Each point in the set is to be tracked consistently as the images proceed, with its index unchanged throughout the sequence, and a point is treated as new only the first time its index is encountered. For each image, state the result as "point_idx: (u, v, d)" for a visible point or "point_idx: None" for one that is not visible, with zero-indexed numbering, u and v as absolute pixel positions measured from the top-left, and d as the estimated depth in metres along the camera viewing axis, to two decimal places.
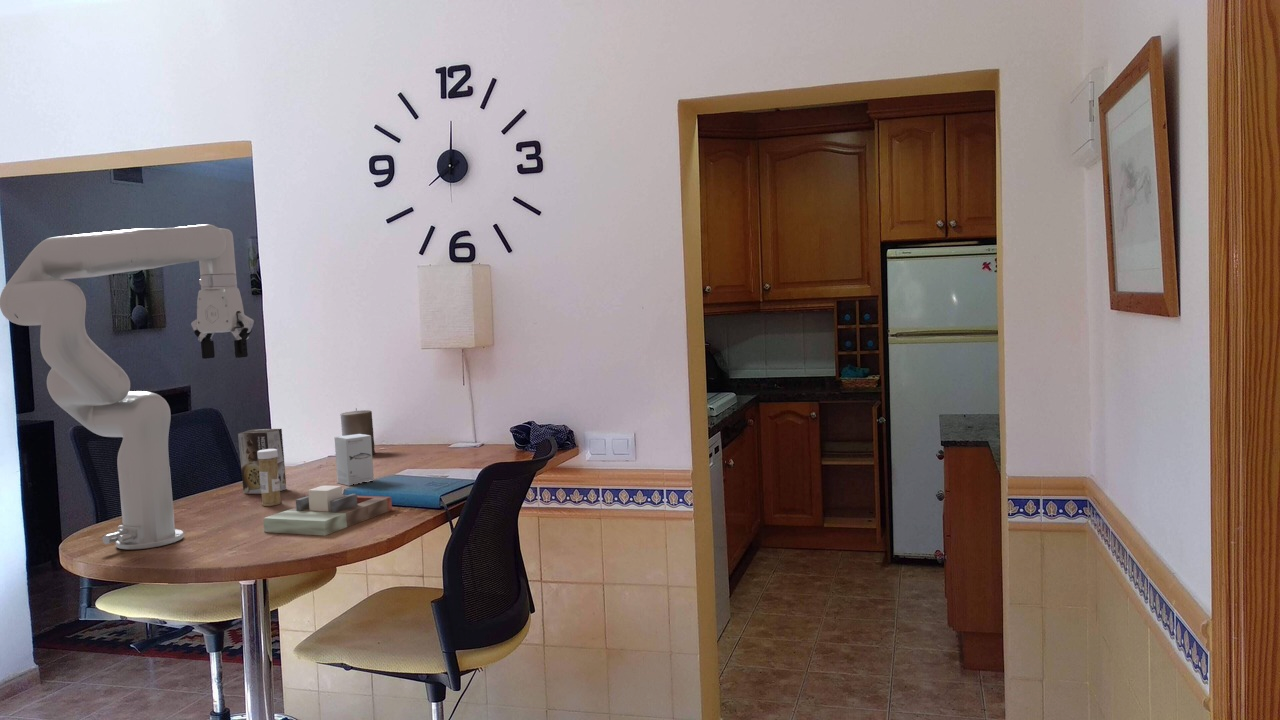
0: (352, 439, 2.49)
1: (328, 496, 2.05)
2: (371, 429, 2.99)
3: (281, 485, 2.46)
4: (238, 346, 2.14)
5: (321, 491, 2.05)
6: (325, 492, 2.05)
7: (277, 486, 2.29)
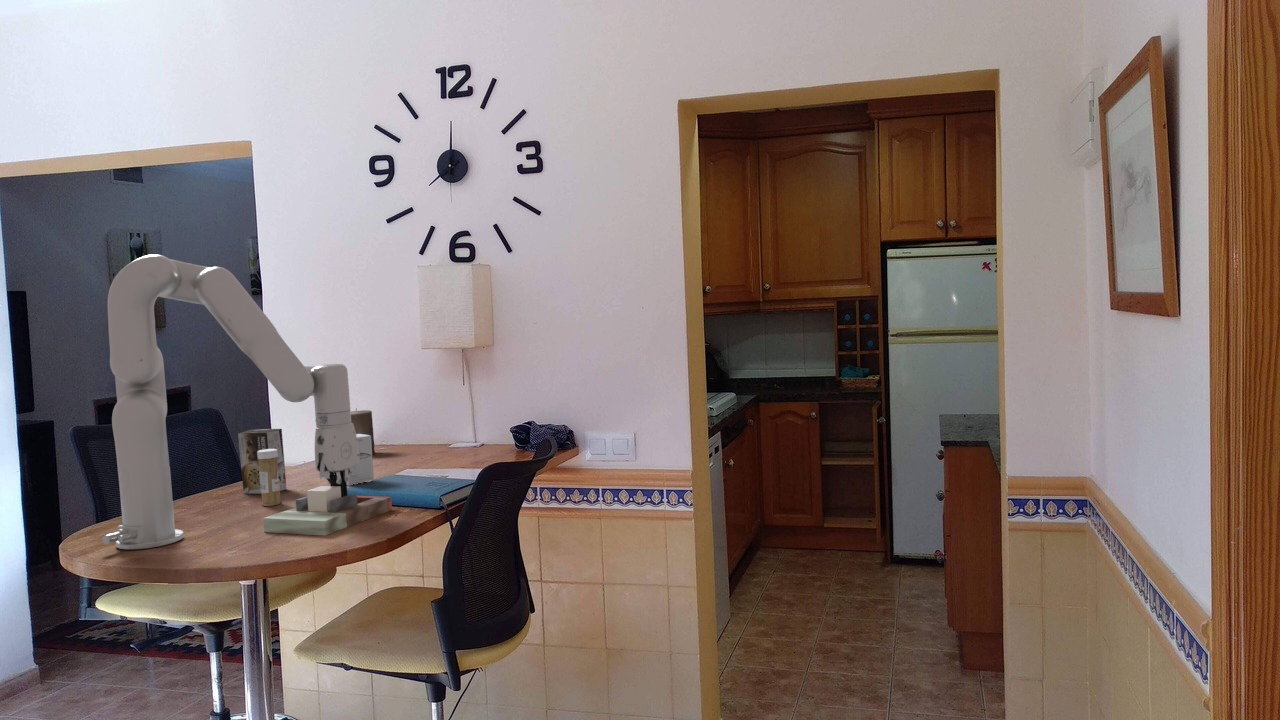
0: None
1: (327, 496, 2.04)
2: (371, 429, 2.99)
3: (281, 485, 2.46)
4: None
5: (320, 492, 2.04)
6: (324, 493, 2.04)
7: (277, 486, 2.29)
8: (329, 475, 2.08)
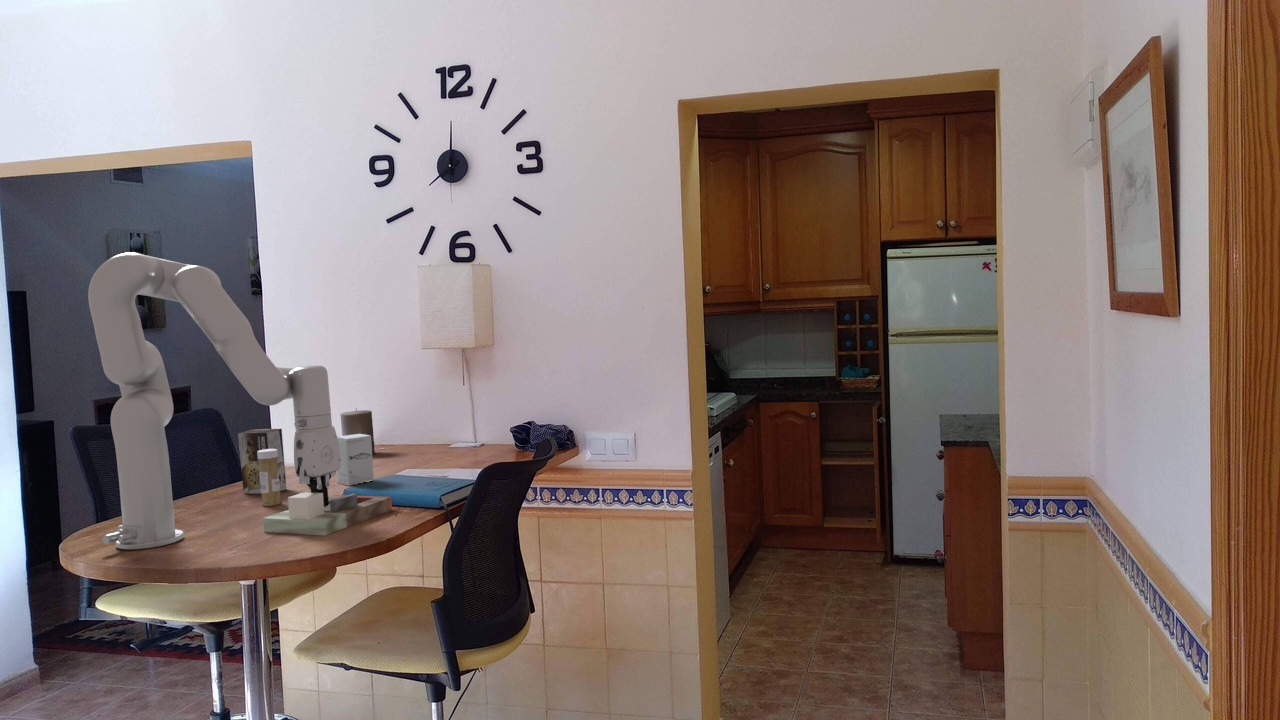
0: (352, 439, 2.49)
1: (309, 503, 1.98)
2: (371, 429, 2.99)
3: (281, 485, 2.46)
4: None
5: (301, 498, 1.98)
6: (305, 499, 1.98)
7: (277, 486, 2.29)
8: (309, 480, 2.02)
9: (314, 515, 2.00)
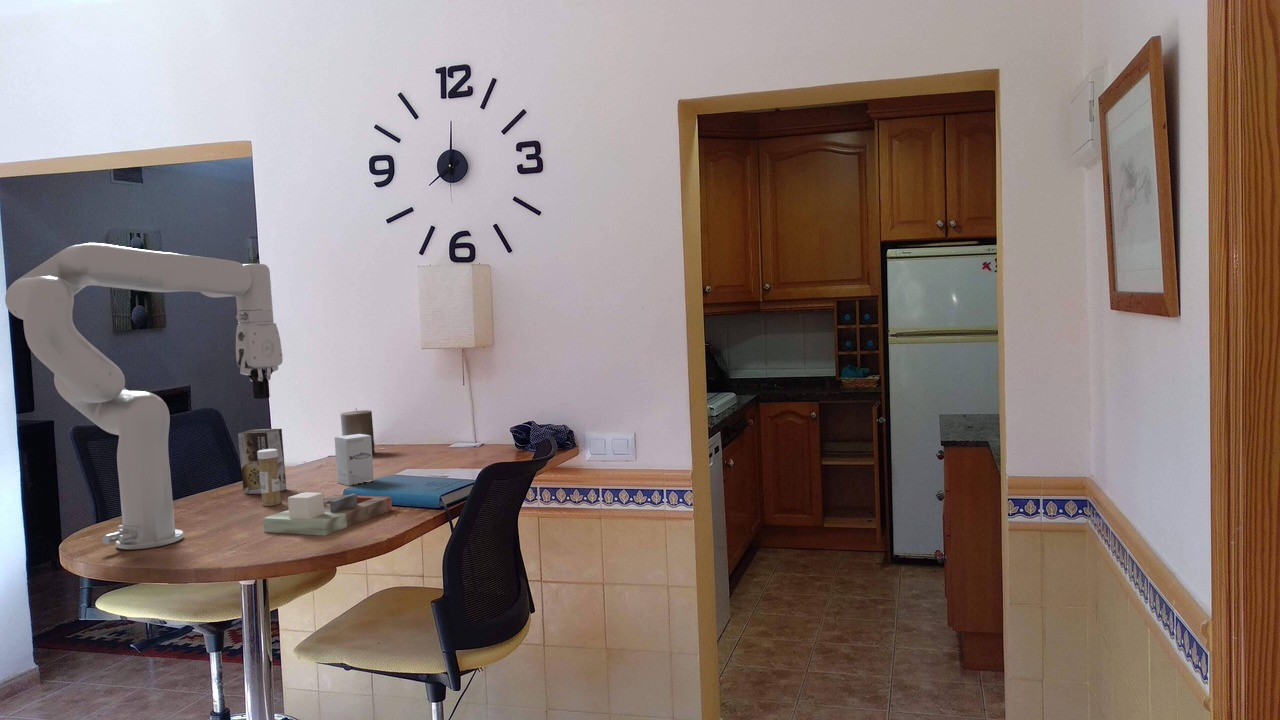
0: (352, 439, 2.49)
1: (309, 503, 1.98)
2: (371, 429, 2.99)
3: (281, 485, 2.46)
4: None
5: (301, 498, 1.98)
6: (305, 499, 1.98)
7: (277, 486, 2.29)
8: (250, 371, 2.12)
9: (314, 515, 2.00)
